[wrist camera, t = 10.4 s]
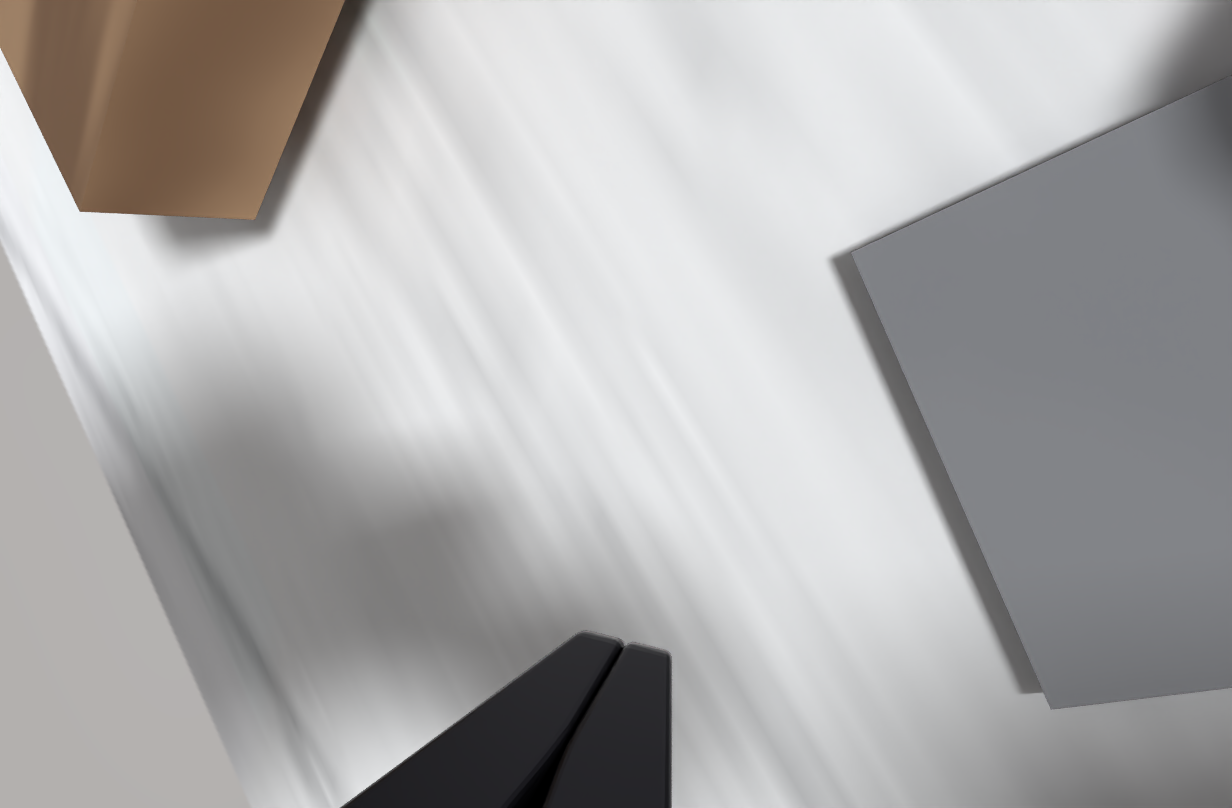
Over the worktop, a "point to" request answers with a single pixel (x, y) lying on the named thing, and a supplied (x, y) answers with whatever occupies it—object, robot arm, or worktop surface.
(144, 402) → the worktop surface
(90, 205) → the light brown wooden block
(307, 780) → the worktop surface
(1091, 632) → the slate coaster
